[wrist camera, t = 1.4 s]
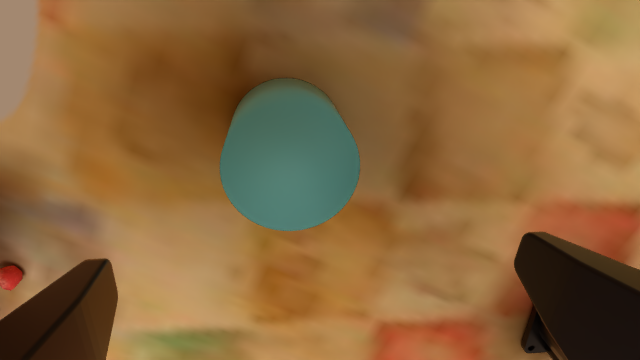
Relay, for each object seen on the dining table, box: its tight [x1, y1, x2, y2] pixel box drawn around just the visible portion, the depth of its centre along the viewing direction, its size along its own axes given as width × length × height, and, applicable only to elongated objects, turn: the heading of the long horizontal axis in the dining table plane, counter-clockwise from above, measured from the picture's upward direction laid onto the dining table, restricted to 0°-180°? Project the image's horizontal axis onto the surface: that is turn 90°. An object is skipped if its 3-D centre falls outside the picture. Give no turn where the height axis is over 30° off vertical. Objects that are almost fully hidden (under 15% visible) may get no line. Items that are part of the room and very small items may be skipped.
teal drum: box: [220, 78, 360, 231], centre depth 18 cm, size 6×6×5 cm
